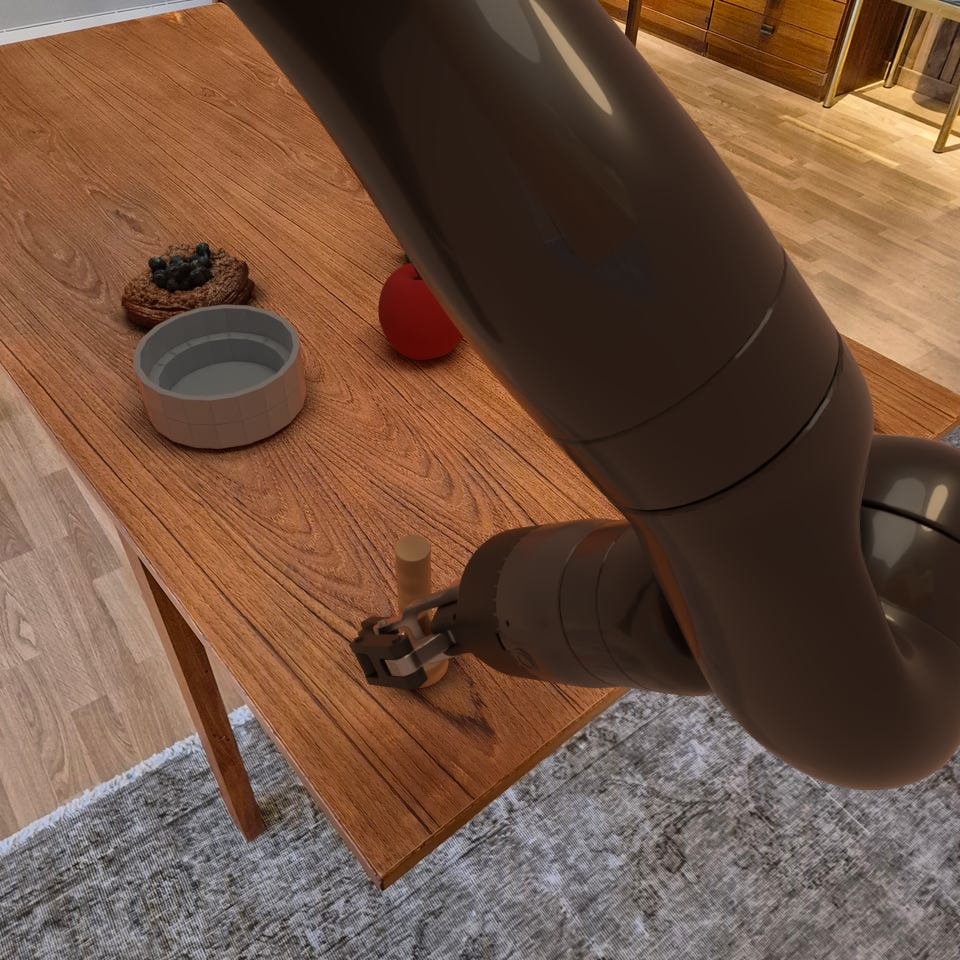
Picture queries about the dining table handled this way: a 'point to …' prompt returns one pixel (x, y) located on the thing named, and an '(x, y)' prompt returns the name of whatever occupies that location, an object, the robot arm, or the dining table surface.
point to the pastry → (186, 284)
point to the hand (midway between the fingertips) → (428, 601)
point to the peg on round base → (416, 587)
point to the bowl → (221, 375)
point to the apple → (415, 317)
